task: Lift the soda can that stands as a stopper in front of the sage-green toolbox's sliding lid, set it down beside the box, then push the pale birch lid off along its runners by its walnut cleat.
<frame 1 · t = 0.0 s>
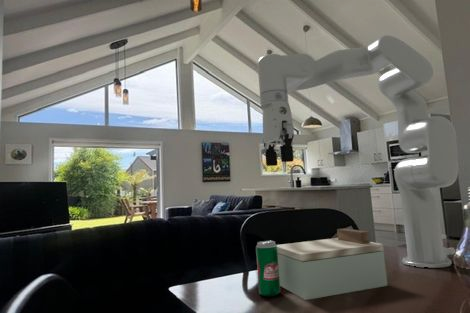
hand: (279, 163, 88), 31 cm above the table, tool pointing down, fingers open, 9 cm apart
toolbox: (328, 284, 83), on the table
lid: (324, 242, 84), point 10 cm above the table, slide at 0.0 cm
soda can: (269, 294, 78), on the table
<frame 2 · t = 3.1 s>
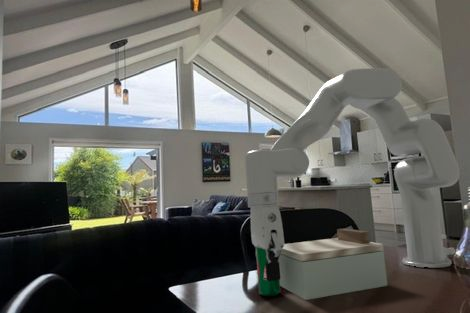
hand: (268, 276, 79), 4 cm above the table, tool pointing down, fingers closed on soda can, 5 cm apart
soda can: (269, 294, 78), on the table, touching gripper
everything else where it was.
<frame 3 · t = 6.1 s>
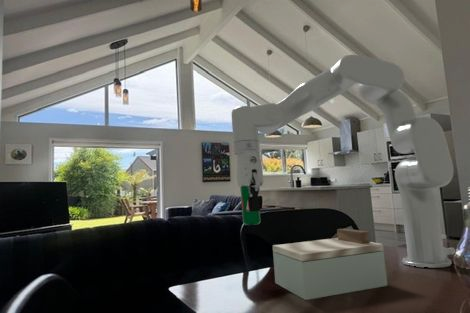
hand: (251, 210, 95), 19 cm above the table, tool pointing down, fingers closed on soda can, 5 cm apart
soda can: (252, 224, 95), point 15 cm above the table, touching gripper
everything else where it was.
when the fingers open (5 cm above the table, at t = 9.0 s): soda can drops 1 cm, on the table.
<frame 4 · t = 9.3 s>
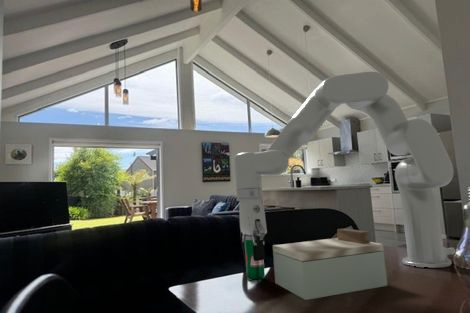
hand: (253, 257, 94), 6 cm above the table, tool pointing down, fingers open, 7 cm apart
soda can: (256, 279, 93), on the table
everything else where it was.
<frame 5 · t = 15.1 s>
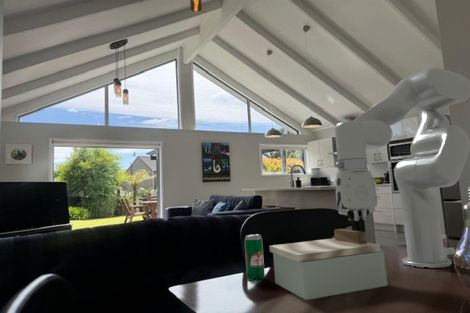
hand: (359, 235, 88), 11 cm above the table, tool pointing down, fingers closed
lid: (321, 242, 84), point 10 cm above the table, slide at 0.9 cm, touching gripper
everything else where it was.
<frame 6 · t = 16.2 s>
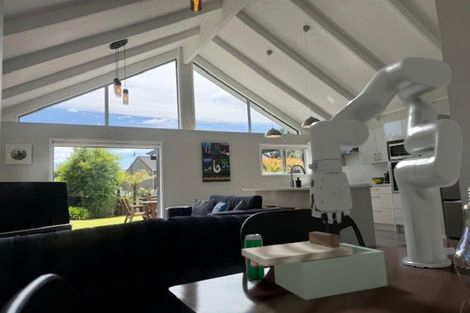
hand: (333, 238, 85), 11 cm above the table, tool pointing down, fingers closed
lid: (293, 245, 82), point 10 cm above the table, slide at 8.8 cm, touching gripper
everything else where it was.
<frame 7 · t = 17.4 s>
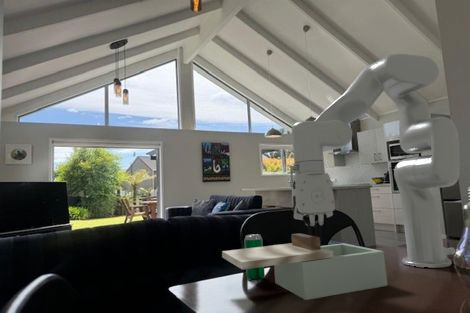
hand: (315, 241, 84), 11 cm above the table, tool pointing down, fingers closed
lid: (274, 248, 80), point 10 cm above the table, slide at 14.0 cm, touching gripper
everything else where it was.
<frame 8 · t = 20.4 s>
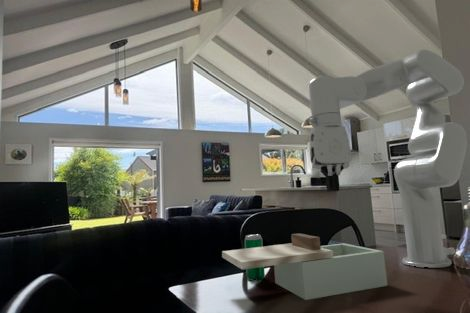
hand: (333, 191, 87), 23 cm above the table, tool pointing down, fingers closed
lid: (274, 248, 80), point 10 cm above the table, slide at 14.0 cm
everything else where it was.
at the end: lid slide at 14.0 cm; soda can inside the target area (0.2 cm from its centre), on the table; soda can tilted 0° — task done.
